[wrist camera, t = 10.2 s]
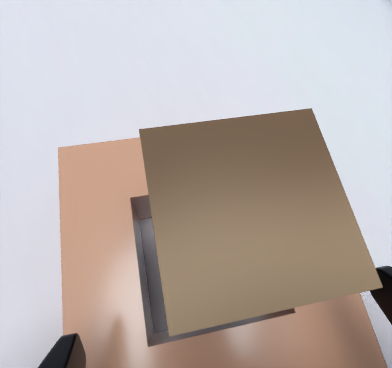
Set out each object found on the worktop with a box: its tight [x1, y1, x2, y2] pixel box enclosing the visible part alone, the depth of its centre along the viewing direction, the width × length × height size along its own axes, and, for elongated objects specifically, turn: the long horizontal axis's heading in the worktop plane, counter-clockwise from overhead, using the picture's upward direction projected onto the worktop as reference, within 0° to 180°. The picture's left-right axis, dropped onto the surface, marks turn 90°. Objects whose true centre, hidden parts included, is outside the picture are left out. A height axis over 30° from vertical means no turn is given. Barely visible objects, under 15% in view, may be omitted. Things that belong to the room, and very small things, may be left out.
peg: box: [139, 108, 383, 337], centre depth 11 cm, size 4×4×11 cm
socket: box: [58, 138, 387, 368], centre depth 14 cm, size 12×12×4 cm
